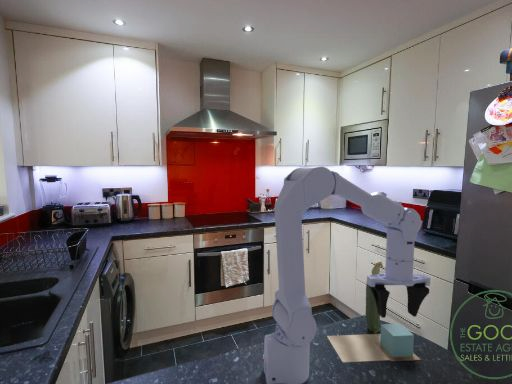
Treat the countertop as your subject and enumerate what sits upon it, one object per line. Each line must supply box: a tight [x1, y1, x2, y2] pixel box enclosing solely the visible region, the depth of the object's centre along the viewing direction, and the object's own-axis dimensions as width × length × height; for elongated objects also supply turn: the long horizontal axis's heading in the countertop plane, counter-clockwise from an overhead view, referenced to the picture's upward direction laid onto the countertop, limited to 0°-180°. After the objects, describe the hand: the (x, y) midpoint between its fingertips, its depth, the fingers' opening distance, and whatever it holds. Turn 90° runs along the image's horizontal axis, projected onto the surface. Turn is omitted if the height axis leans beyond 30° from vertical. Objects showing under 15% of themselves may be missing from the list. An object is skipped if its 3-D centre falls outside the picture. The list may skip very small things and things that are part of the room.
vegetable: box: [365, 261, 384, 334], centre depth 73 cm, size 4×4×20 cm
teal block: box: [380, 323, 415, 357], centre depth 64 cm, size 5×5×5 cm
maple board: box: [326, 333, 421, 363], centre depth 65 cm, size 18×10×1 cm, turn 95°
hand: (396, 314), depth 63 cm, fingers open, 7 cm apart
